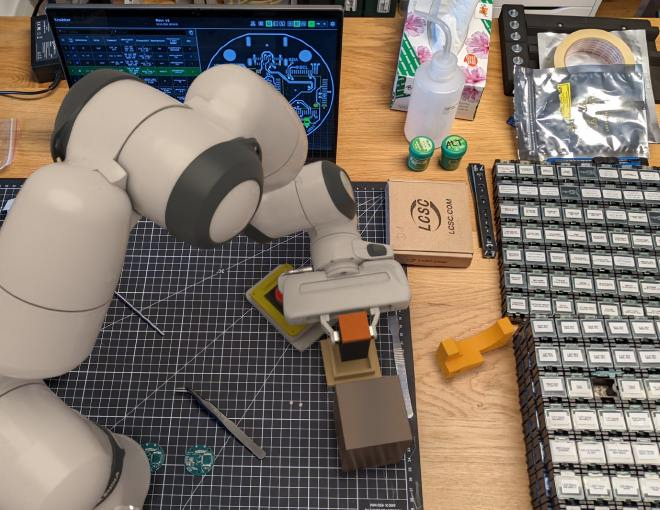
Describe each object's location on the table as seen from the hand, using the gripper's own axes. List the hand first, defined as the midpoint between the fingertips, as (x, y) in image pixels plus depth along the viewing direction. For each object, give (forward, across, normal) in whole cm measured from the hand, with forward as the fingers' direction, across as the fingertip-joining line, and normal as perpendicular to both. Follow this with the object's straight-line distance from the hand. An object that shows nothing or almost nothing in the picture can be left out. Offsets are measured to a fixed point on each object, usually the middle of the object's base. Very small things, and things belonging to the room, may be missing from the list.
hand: (354, 341), depth 94 cm
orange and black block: (-1, 0, +5) cm, 5 cm away
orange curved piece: (+2, +20, +11) cm, 23 cm away
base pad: (-1, 0, +11) cm, 11 cm away
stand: (+12, 0, +10) cm, 16 cm away
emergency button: (-12, -8, +11) cm, 18 cm away
